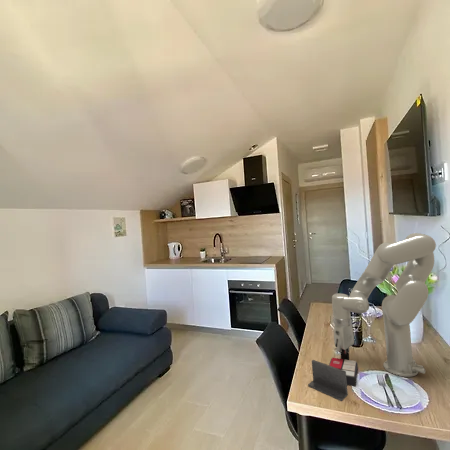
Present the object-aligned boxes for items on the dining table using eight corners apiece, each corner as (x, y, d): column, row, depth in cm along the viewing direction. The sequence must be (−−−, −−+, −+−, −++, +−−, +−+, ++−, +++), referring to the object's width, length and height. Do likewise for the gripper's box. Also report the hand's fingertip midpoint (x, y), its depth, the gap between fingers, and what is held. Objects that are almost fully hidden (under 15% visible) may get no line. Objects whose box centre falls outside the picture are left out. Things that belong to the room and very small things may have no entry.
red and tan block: (357, 360, 122) (355, 375, 109) (358, 370, 122) (355, 386, 109) (331, 356, 128) (326, 370, 114) (332, 365, 127) (326, 381, 114)
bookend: (347, 395, 104) (345, 371, 104) (341, 401, 101) (339, 376, 101) (314, 381, 115) (313, 359, 115) (308, 386, 112) (306, 364, 112)
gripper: (341, 328, 119) (345, 370, 119) (357, 318, 128) (360, 357, 128) (326, 324, 125) (329, 364, 125) (342, 315, 134) (345, 352, 134)
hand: (345, 360), depth 126 cm, fingers closed
